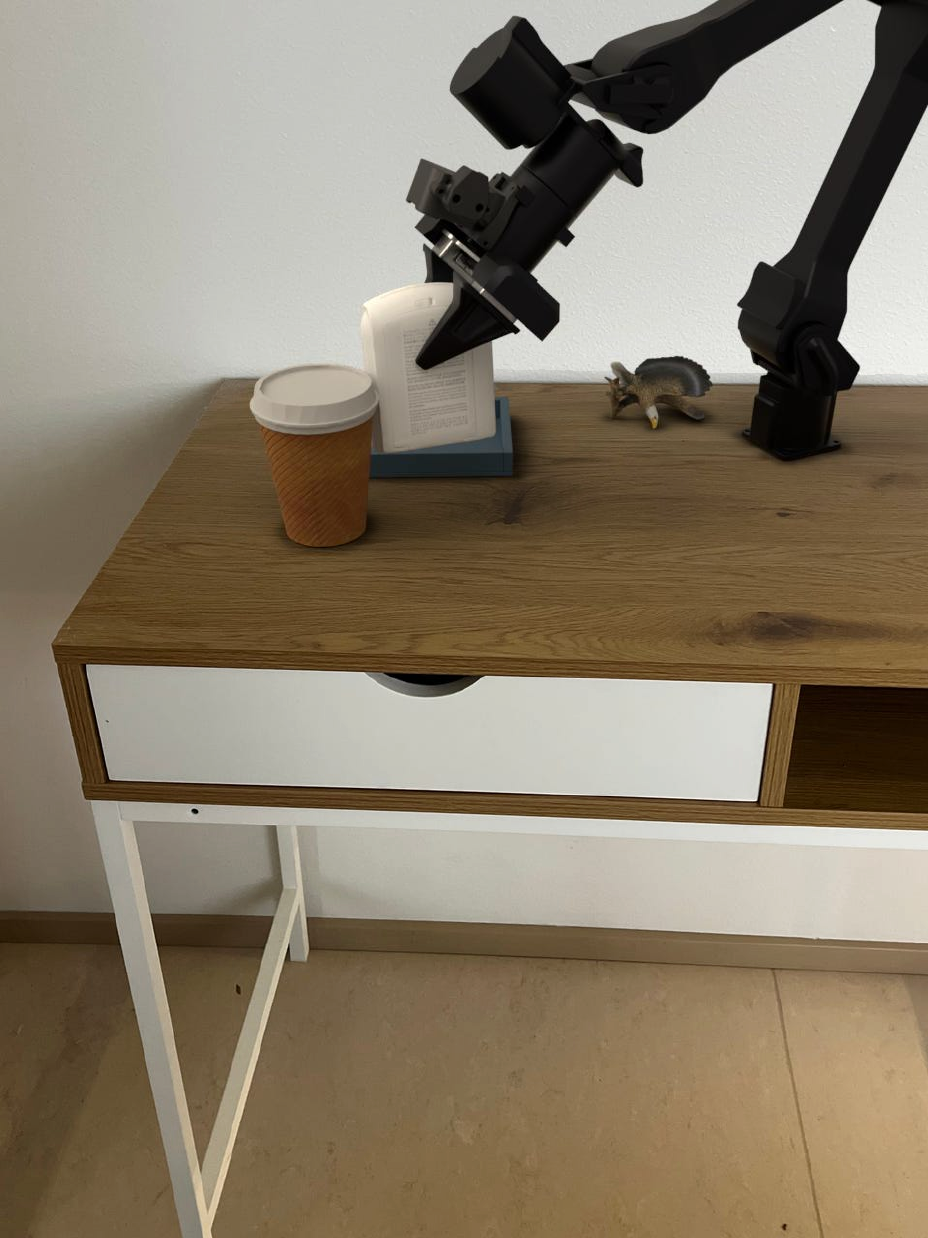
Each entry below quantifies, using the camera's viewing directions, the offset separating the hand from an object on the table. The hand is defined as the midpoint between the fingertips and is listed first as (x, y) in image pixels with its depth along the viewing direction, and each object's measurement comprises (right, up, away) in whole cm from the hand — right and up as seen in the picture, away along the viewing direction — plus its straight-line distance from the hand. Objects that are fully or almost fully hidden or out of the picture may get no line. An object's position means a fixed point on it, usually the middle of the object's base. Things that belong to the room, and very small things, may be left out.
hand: (411, 356), depth 88 cm
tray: (-1, -5, +15) cm, 16 cm away
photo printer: (+2, -6, +4) cm, 7 cm away
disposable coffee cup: (-7, -13, +3) cm, 15 cm away
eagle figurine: (+22, -2, +20) cm, 30 cm away
